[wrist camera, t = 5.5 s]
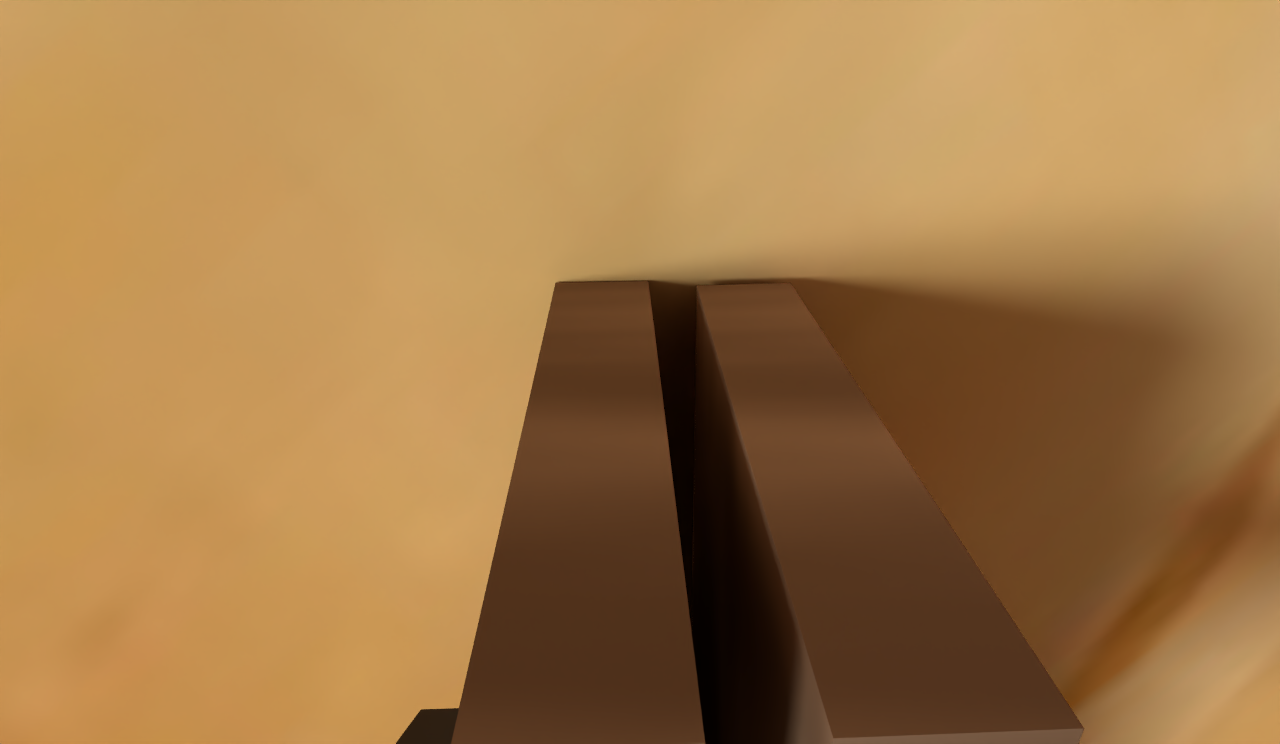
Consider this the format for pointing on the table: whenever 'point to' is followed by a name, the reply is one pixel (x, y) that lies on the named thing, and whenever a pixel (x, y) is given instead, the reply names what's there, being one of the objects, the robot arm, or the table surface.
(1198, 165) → the table surface
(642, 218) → the table surface
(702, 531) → the tongs hinged jaw
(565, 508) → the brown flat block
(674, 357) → the table surface
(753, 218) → the table surface
